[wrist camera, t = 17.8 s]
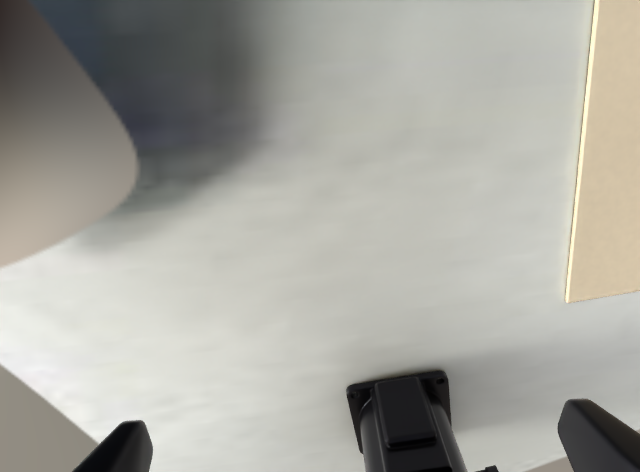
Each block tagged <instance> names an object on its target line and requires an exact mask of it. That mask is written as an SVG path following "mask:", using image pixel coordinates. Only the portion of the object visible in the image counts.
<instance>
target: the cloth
mask: <svg viewBox="0 0 640 472" xmlns="http://www.w3.org/2000/svg"><path fill="white" fill-rule="evenodd" d="M637 291H640V0H595V5H594V15H593V25H592V35H591V45H590V55H589V65H588V75H587V85H586V95H585V106H584V116H583V126H582V136H581V146H580V156H579V166H578V176H577V186H576V196H575V206H574V216H573V226H572V236H571V246H570V256H569V267H568V277H567V287H566V297H565V301H566V302H567V303H572V302H578V301H584V300H590V299H596V298H602V297H607V296H613V295H619V294H625V293H631V292H637Z"/></svg>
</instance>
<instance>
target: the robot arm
mask: <svg viewBox="0 0 640 472" xmlns="http://www.w3.org/2000/svg"><path fill="white" fill-rule="evenodd" d="M440 378H441V379H440ZM346 392H347V398H348V403H349V407H350V411H351V416H352V420H353V424H354V428H355V433H356V437H357V441H358V445H359V450H360V452H361V453H362V454H364V461H365V469H366V472H467V469H466V466H465V464H464V461H463V458H462V456H461V453H460V450H459V447H458V445H457V442H456V439H455V436H454V434H453V431H452V427H451V413H450V399H449V385H448V378H447V376H446V373H445V372H443V371H434V372H428V373H422V374H416V375H410V376H403V377H397V378H391V379H385V380H379V381H373V382H367V383H361V384H355V385H351V386H349V387H348V388H347V391H346ZM354 392H356V393H354ZM558 434H559V437H560V440H561V442H562V444H563V447H564V449H565V451H566V454H567V456H568V459H569V461H570V463H571V466H572V468H573V470H574V472H640V434H639V433H638V432H636V431H635V430H633V429H632V428H630V427H629V426H627V425H626V424H624V423H623V422H622V421H620V420H619V419H617V418H616V417H614V416H613V415H611V414H610V413H608V412H607V411H606V410H604V409H603V408H601V407H600V406H598V405H597V404H595V403H594V402H592V401H591V400H588V399H570V400H568V401H566V403H565V405H564V408H563V411H562V414H561V417H560V419H559V422H558ZM152 455H153V446H152V442H151V439H150V436H149V433H148V431H147V428H146V425H145V423H144V422H143V421H141V420H136V421H124V422H122V423H121V424H120V425H118V426H117V427H116V428H115V429H114V430H113V431H112V432H111V433H110V434H109V435H108V436H107V437H106V438H105V439H104V440H103V441H102V442H101V443H100V444H99V445H98V446H97V447H96V448H95V449H94V450H93V451H92V452H91V453H90V454H89V455H88V456H87V457H86V458H85V459H84V460H83V461H82V462H81V463H80V464H79V465H78V466H77V467H76V468H75V469H74V470H73V471H72V472H149V469H150V464H151V460H152ZM476 472H498V470H497V468H496V466H495V465H494V466H490V467H485V470H481V471H476Z"/></svg>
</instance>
